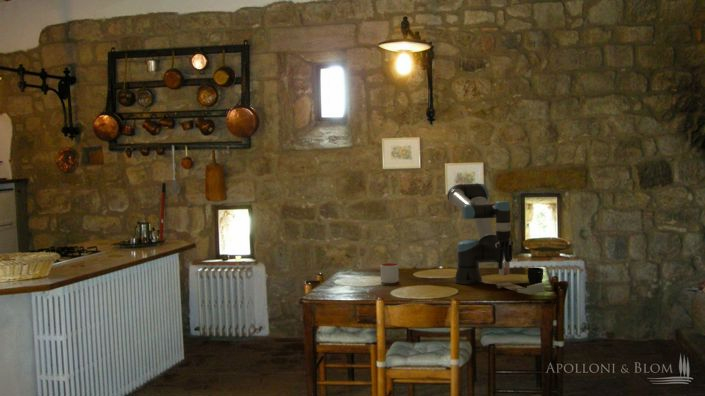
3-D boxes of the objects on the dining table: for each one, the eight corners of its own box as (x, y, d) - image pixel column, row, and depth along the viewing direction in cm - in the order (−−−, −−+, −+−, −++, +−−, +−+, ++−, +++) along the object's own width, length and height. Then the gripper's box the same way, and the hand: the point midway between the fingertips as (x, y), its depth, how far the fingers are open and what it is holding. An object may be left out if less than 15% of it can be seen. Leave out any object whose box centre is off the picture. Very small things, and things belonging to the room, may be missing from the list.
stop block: (517, 292, 344) (517, 284, 344) (530, 289, 351) (530, 281, 351) (530, 294, 338) (530, 286, 338) (543, 291, 345) (543, 283, 345)
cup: (385, 284, 375) (384, 266, 374) (377, 281, 384) (377, 264, 384) (401, 282, 379) (401, 265, 378) (393, 279, 388) (393, 262, 387)
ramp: (496, 288, 357) (496, 283, 357) (504, 286, 362) (504, 281, 361) (519, 291, 346) (519, 286, 346) (527, 289, 350) (527, 284, 350)
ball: (505, 276, 354) (505, 268, 353) (499, 275, 357) (499, 267, 357) (510, 275, 356) (509, 267, 356) (504, 274, 359) (503, 266, 359)
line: (519, 291, 346) (519, 290, 346) (527, 289, 350) (527, 288, 350) (520, 291, 345) (520, 290, 345) (528, 289, 350) (528, 288, 350)
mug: (532, 289, 350) (531, 271, 350) (525, 285, 362) (525, 267, 362) (547, 289, 351) (547, 270, 350) (540, 284, 363) (540, 267, 362)
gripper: (499, 232, 347) (499, 277, 348) (519, 229, 358) (519, 273, 359) (487, 231, 353) (488, 275, 354) (507, 228, 364) (508, 271, 365)
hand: (504, 274), depth 357 cm, fingers closed on ball, 4 cm apart
